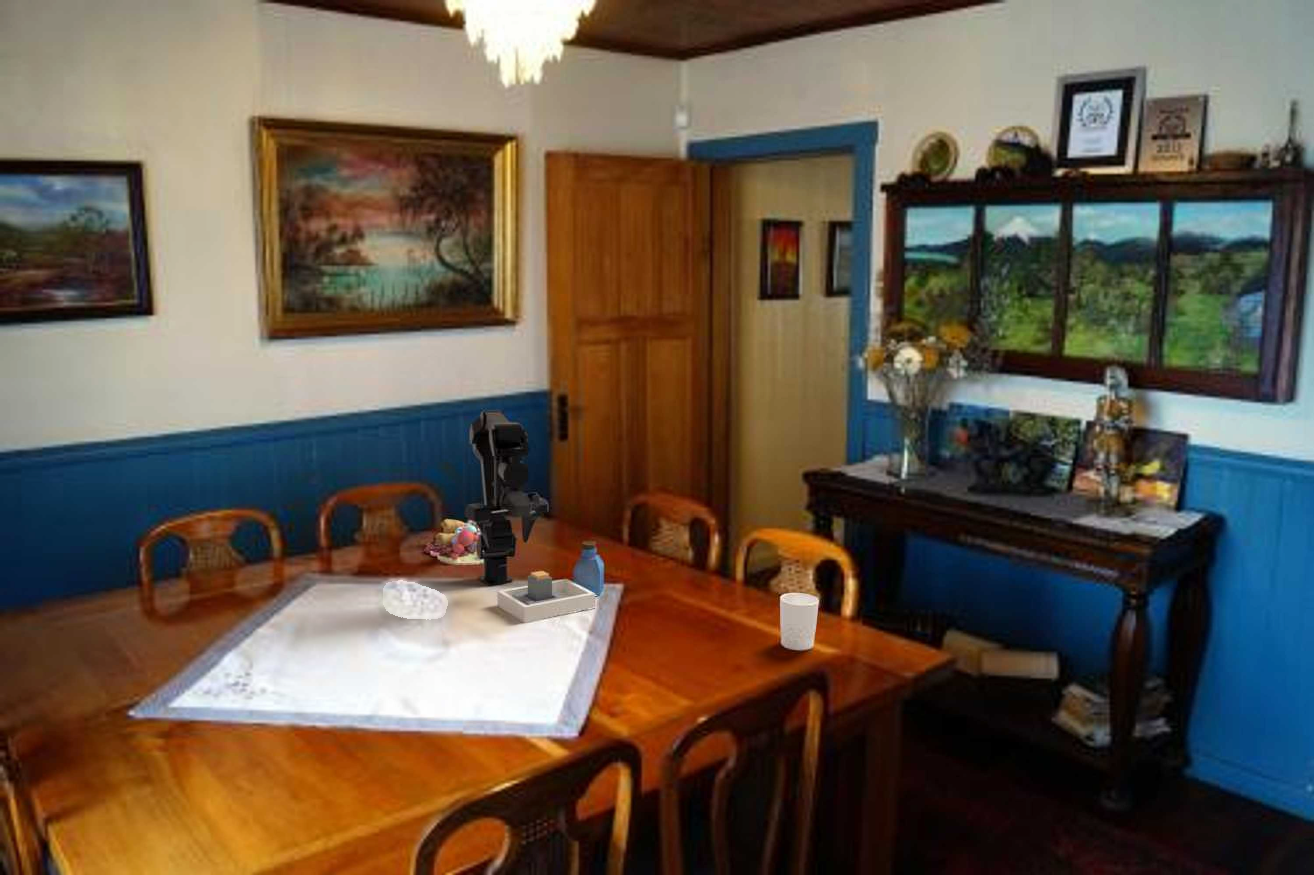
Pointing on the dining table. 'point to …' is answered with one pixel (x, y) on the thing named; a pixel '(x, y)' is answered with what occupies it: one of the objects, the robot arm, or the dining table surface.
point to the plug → (539, 586)
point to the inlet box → (546, 601)
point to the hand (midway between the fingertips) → (507, 544)
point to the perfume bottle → (590, 569)
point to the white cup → (798, 620)
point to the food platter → (456, 543)
